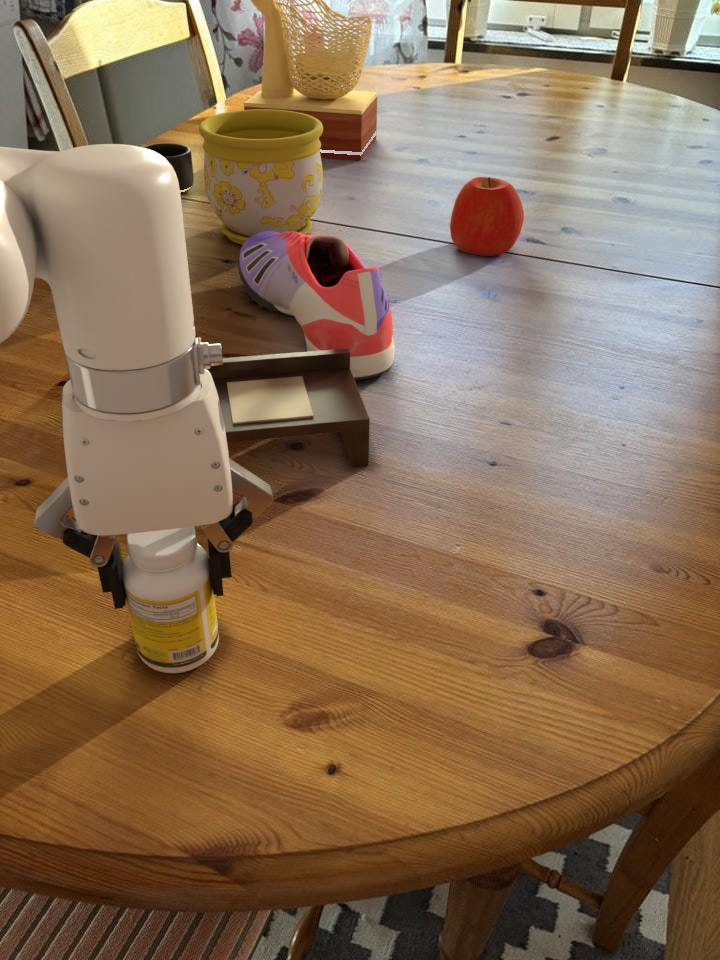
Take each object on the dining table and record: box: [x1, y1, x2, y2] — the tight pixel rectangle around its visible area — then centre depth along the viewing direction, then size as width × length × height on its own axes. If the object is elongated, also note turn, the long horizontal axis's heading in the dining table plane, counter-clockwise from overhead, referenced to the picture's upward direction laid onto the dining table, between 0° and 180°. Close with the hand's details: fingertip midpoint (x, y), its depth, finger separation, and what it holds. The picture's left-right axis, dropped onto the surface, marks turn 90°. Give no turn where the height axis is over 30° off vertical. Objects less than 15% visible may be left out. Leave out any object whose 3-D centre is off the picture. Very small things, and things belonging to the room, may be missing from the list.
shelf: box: [206, 348, 371, 468], centre depth 85 cm, size 18×11×7 cm, turn 101°
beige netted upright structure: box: [243, 0, 378, 162], centre depth 166 cm, size 25×18×35 cm
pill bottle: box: [122, 526, 220, 674], centre depth 62 cm, size 6×6×11 cm
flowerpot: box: [198, 109, 324, 246], centre depth 130 cm, size 18×18×16 cm
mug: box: [141, 142, 195, 196], centre depth 147 cm, size 12×9×7 cm
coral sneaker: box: [237, 231, 396, 381], centre depth 106 cm, size 12×36×13 cm, turn 24°
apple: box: [449, 176, 525, 257], centre depth 128 cm, size 11×11×11 cm
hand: (169, 587), depth 62 cm, fingers closed on pill bottle, 6 cm apart
